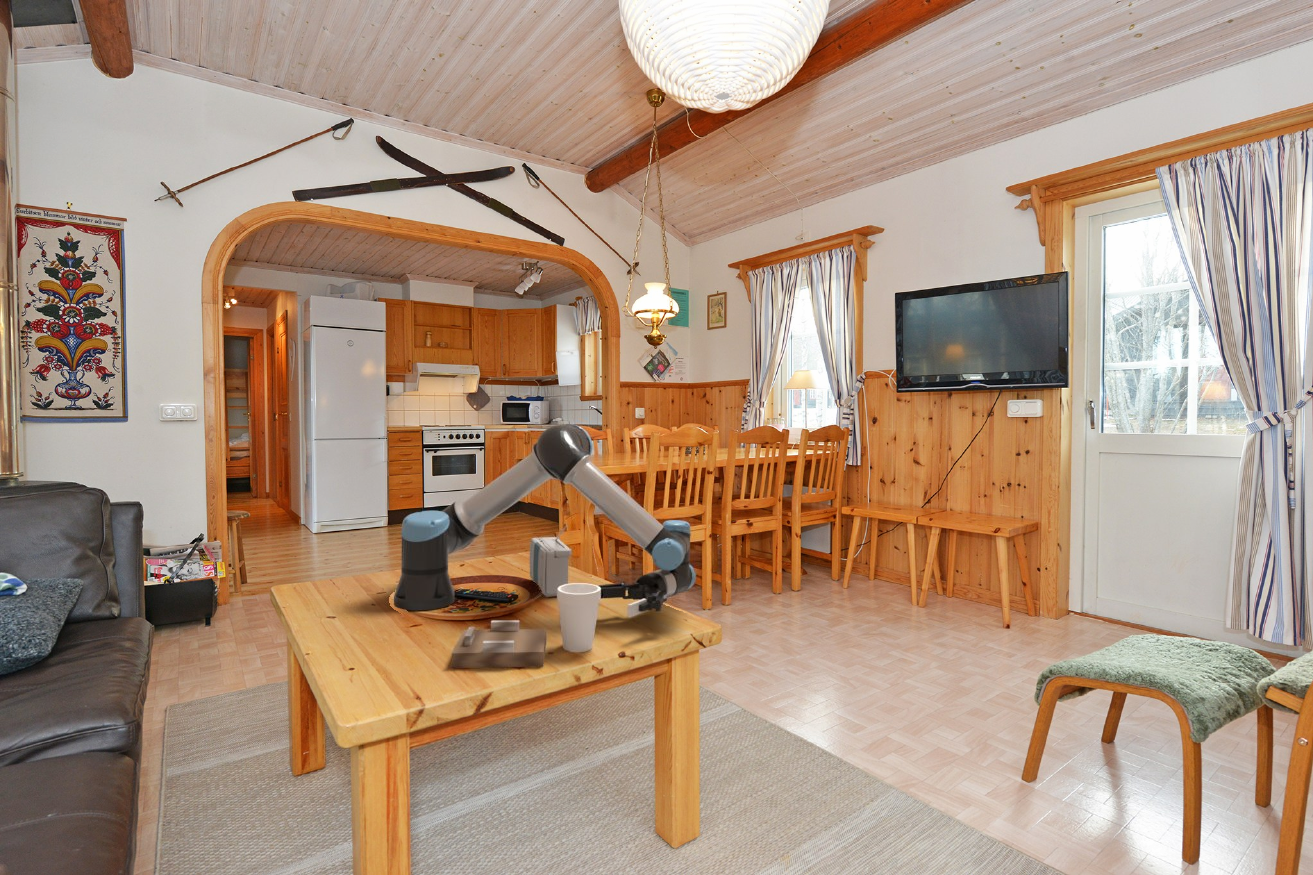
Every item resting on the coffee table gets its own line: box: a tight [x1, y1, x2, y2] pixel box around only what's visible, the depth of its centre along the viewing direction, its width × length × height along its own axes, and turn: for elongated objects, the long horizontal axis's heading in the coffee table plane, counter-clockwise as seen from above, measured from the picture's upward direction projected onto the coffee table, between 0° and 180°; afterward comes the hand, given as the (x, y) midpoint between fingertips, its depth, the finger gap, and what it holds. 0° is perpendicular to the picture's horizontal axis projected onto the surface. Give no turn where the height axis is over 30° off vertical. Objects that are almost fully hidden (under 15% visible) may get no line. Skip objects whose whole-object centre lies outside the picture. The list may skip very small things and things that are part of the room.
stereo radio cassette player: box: [529, 524, 573, 598], centre depth 197 cm, size 21×8×20 cm, turn 21°
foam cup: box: [556, 582, 602, 653], centre depth 149 cm, size 10×9×13 cm
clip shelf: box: [451, 619, 547, 669], centre depth 144 cm, size 18×14×5 cm
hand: (604, 605), depth 157 cm, fingers open, 13 cm apart
